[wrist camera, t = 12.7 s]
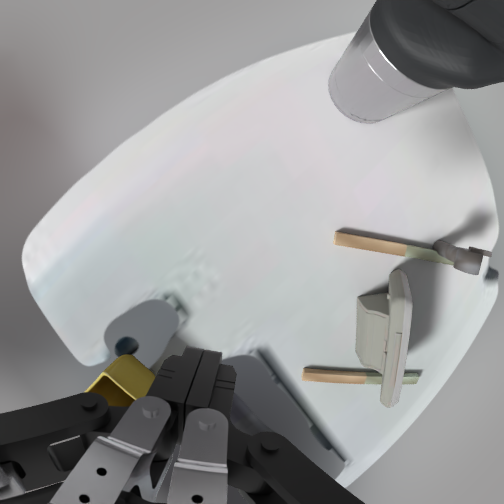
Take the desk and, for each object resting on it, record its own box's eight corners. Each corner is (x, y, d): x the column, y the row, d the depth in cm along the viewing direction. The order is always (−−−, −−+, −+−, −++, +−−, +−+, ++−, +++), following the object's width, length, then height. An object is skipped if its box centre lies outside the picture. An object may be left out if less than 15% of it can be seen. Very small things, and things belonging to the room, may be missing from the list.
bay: (338, 214, 37) (361, 225, 28) (460, 240, 37) (500, 255, 27) (301, 375, 43) (307, 418, 33) (413, 379, 42) (435, 415, 33)
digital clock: (392, 366, 42) (416, 408, 32) (339, 366, 42) (355, 412, 32) (419, 269, 38) (458, 295, 28) (363, 263, 38) (393, 291, 28)
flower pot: (142, 399, 46) (124, 433, 37) (103, 366, 44) (79, 396, 36) (170, 376, 44) (153, 412, 35) (128, 339, 43) (103, 370, 34)
